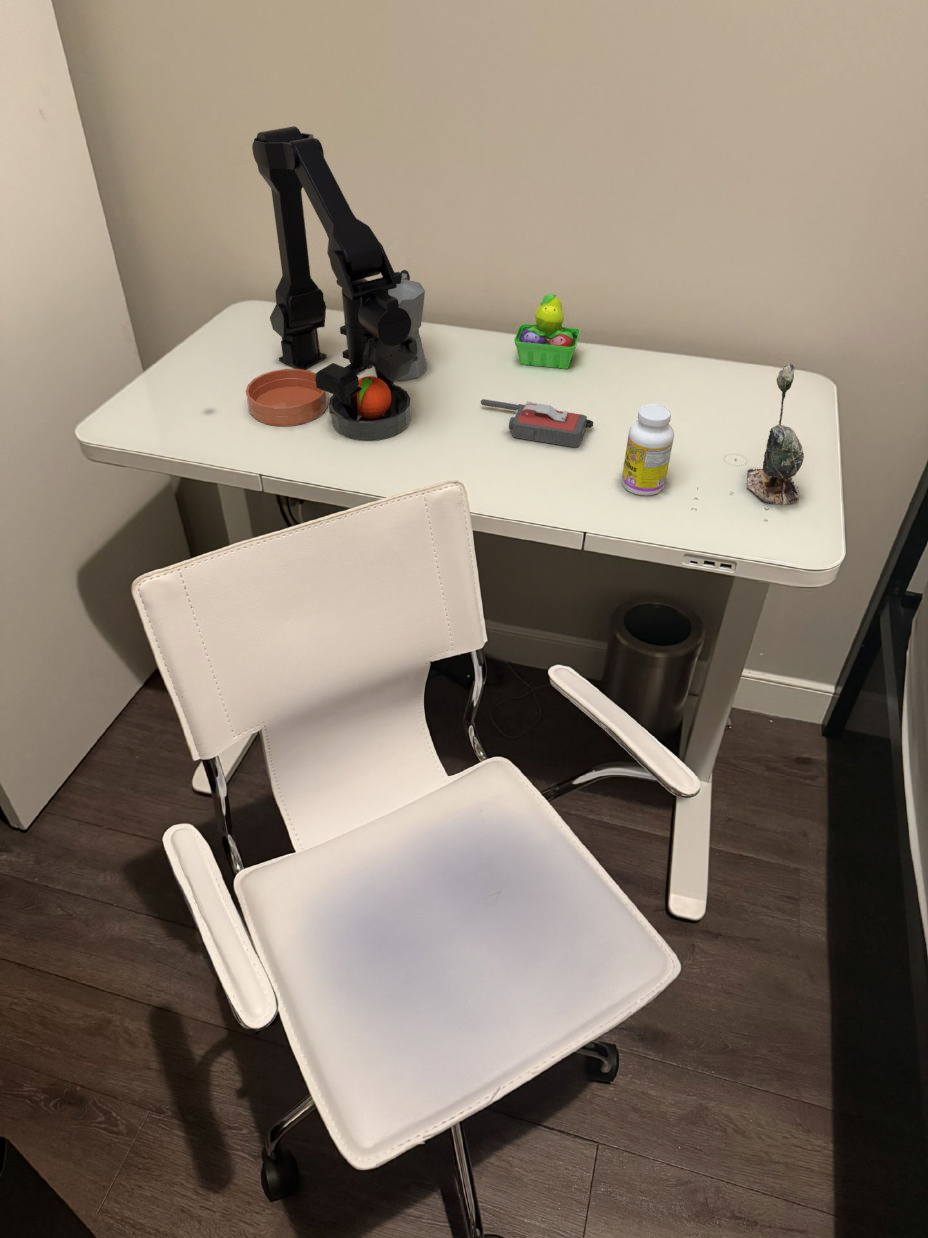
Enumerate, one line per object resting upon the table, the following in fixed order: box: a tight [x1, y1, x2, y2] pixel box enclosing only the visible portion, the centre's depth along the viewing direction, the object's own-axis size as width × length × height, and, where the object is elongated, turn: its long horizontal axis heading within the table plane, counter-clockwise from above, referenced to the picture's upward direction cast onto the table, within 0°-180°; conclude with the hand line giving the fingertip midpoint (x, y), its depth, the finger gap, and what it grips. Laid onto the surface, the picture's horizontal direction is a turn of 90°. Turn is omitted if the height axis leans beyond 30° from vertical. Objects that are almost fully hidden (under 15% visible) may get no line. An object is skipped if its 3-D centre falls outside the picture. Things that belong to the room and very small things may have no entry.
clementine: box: [357, 375, 391, 419], centre depth 149 cm, size 8×7×7 cm
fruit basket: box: [514, 293, 581, 370], centre depth 164 cm, size 11×9×11 cm
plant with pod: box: [746, 363, 805, 505], centre depth 129 cm, size 8×11×20 cm
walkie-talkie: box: [480, 398, 594, 448], centre depth 148 cm, size 9×4×20 cm
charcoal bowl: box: [328, 383, 412, 442], centre depth 150 cm, size 14×14×4 cm
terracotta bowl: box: [245, 368, 329, 427], centre depth 154 cm, size 14×14×4 cm
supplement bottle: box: [621, 403, 675, 496], centre depth 133 cm, size 7×7×13 cm
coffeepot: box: [388, 269, 428, 382], centre depth 159 cm, size 15×9×18 cm, turn 174°
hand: (370, 409), depth 150 cm, fingers open, 8 cm apart
